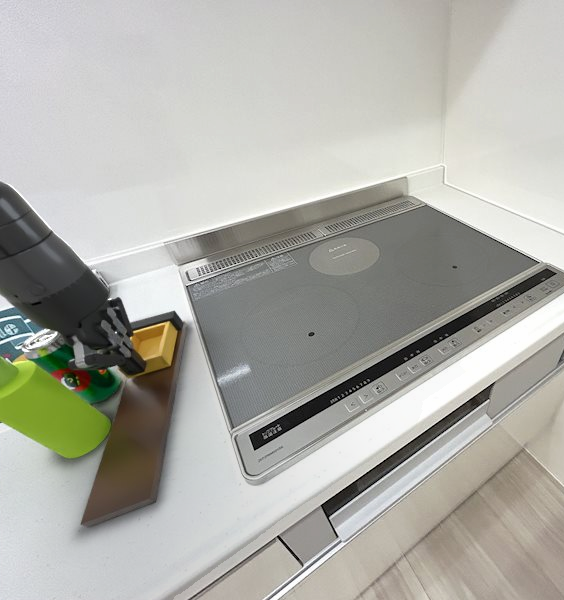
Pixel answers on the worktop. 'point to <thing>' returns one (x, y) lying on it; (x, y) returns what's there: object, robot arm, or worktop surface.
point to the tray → (154, 346)
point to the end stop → (158, 321)
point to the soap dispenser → (48, 410)
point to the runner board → (135, 443)
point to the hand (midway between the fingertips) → (139, 370)
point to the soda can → (54, 360)
